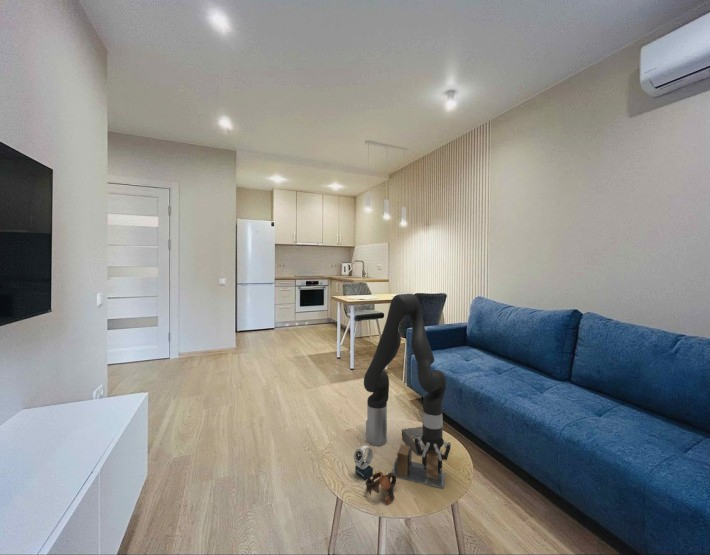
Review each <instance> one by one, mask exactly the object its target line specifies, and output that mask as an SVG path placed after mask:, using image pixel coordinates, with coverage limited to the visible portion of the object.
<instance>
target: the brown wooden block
mask: <svg viewBox="0 0 710 555" xmlns="http://www.w3.org/2000/svg"><path fill="white" fill-rule="evenodd" d="M438 459H439V458H438V455H437V453H436V451H433V450H428V451H427V453H426V455H425V466H427V477H431V478H435V479H438Z"/></svg>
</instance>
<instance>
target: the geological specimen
mask: <svg viewBox="0 0 710 555" xmlns="http://www.w3.org/2000/svg"><path fill="white" fill-rule="evenodd" d="M415 436H418V437H422V426H417V427H412V428H411V427H409V428H403V429H401V440H402V442H403V443H404V445H407V446H411V449H412V452H413V453H414V454H415V455H416V456H417V457H422V455H419V454H418V453H417V450H416V445H415V441H414V439H415ZM420 446H421V450H424V447H425V445H424V444H423V442H422V441H421V442H420Z"/></svg>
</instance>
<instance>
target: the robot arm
mask: <svg viewBox="0 0 710 555" xmlns="http://www.w3.org/2000/svg"><path fill="white" fill-rule="evenodd" d="M406 316H407V317H409V320H410V322H411V340H410V341H411V342H410V343H411V348H412V353H413V355H414V359H415V361H416V368H417V378H418V382H419V385H420V387H421V389H422V390H423V391H424V392H426V393H427V394H426V395H424V397H423V400H422V402H423V404H422V426H421V427H422V437H418V436H415V439H414V441H415V445H416V450H417V453H418V454H419V455H422V456H421V464H423V465H424V466H425V455H426V453H427V451H428V450H433V451H436V453H437V455H438V458H439V459H438V470H440V468H441V469H442V470H443V461H447V460H448V458H449V454H450V451H451V446H452V443H451V442H446V441H444V438H443V429H444V428H443V424H444V421H443V399H444V397H445V396H444V395H445V393H446V388H447V379H446V375H445V374H444V373H443V371H441V370H439V369H434V370H432V369H431V366H432V364H434V363H435V357H434V354H433V351H432V348H431V345H430V343H429V340H428V337H427V332H426V328H425V323H424V318H423V313H422V308H421V304H420V301H419V298H418V297H417V295H415V294H414V293H400V294H399V293H398V294H395V295H394V296H393V297H392V299H391V301H390V304H389V308H388V313H387V317H386V321H385V324H384V327H383V330H382V332H381V336H380V338H379V341H378V344H377V346H376V350H375V352H374V354H373V356H372V360H371V362H370V364H369V367H367V370H366V372H365V373H364V378H363V386H364V389H365V390H366V391H367V392H369V393H371V394H370V395H369V396H368V397H367V401H366V402H367V404H366V406H367V416H366V417H367V418H366V419H367V420H366V421H365V442H367V443H368V444H370V445H371V446H378V447H379V446H383V445H385V444H386V443H387V440H388V439H387V438H388V436H387V435H388V431H387V430H388V428H387V427H388V421H387V420H388V416H387V414H388V399H389V394H390V392H389V391H390V380H389V379H390V378H389V374H388V373H387V371H386V370H385V369H386V367H387V366H388V365H389V364H390V363H392V361H393V360H394V359H395V357H396V356H397V354H398V351H399V349H400V347H401V343H402V342H401V340H402V339H401V335H400V325H401V322H402V321H403V318H404V317H406ZM421 441H422V442H423V444H424V445H425V447H424V450H421V446H420V442H421ZM443 446H444V450H445V451H444V453H442V449H441V448H442V447H443ZM425 467H426V466H425Z"/></svg>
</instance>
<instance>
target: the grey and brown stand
mask: <svg viewBox="0 0 710 555" xmlns="http://www.w3.org/2000/svg"><path fill="white" fill-rule="evenodd" d="M412 452H413V451H412V449H411V446H407V445H406V444H401V443H400V446H399V449H398V451H397V453H396V454H397V456H396V458H395V460H394V463H393V467H392V470H391V472H390V473H394V474H395V476H396V479H397V478H398V479H401V480H405V481H409V482H413V483H417V484H422V485H426V486H429V487H434V488H438V489H442V490H444V488H445V479H446V472H443V468H442V469H441V468H440V470H438V479H435V478H431V477H427V466H426V467H425V466H424V465H423V464H422V462H418V461H417V462H416V461H412V458H413V457H412Z"/></svg>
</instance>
